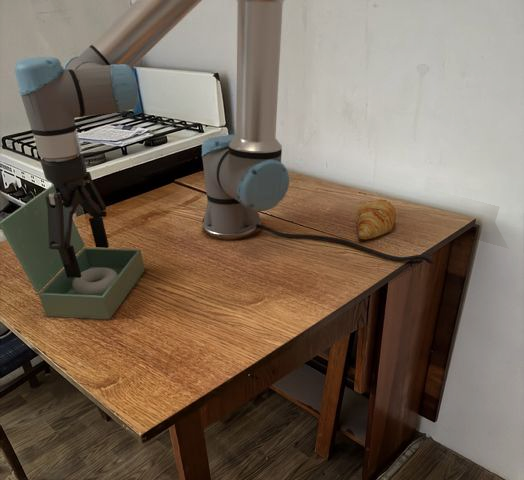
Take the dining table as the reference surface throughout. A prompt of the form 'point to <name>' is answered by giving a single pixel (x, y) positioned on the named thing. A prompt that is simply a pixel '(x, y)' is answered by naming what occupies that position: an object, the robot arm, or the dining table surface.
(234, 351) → the dining table surface
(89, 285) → the donut
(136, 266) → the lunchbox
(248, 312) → the dining table surface
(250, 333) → the dining table surface
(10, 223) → the green box lid
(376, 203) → the croissant
